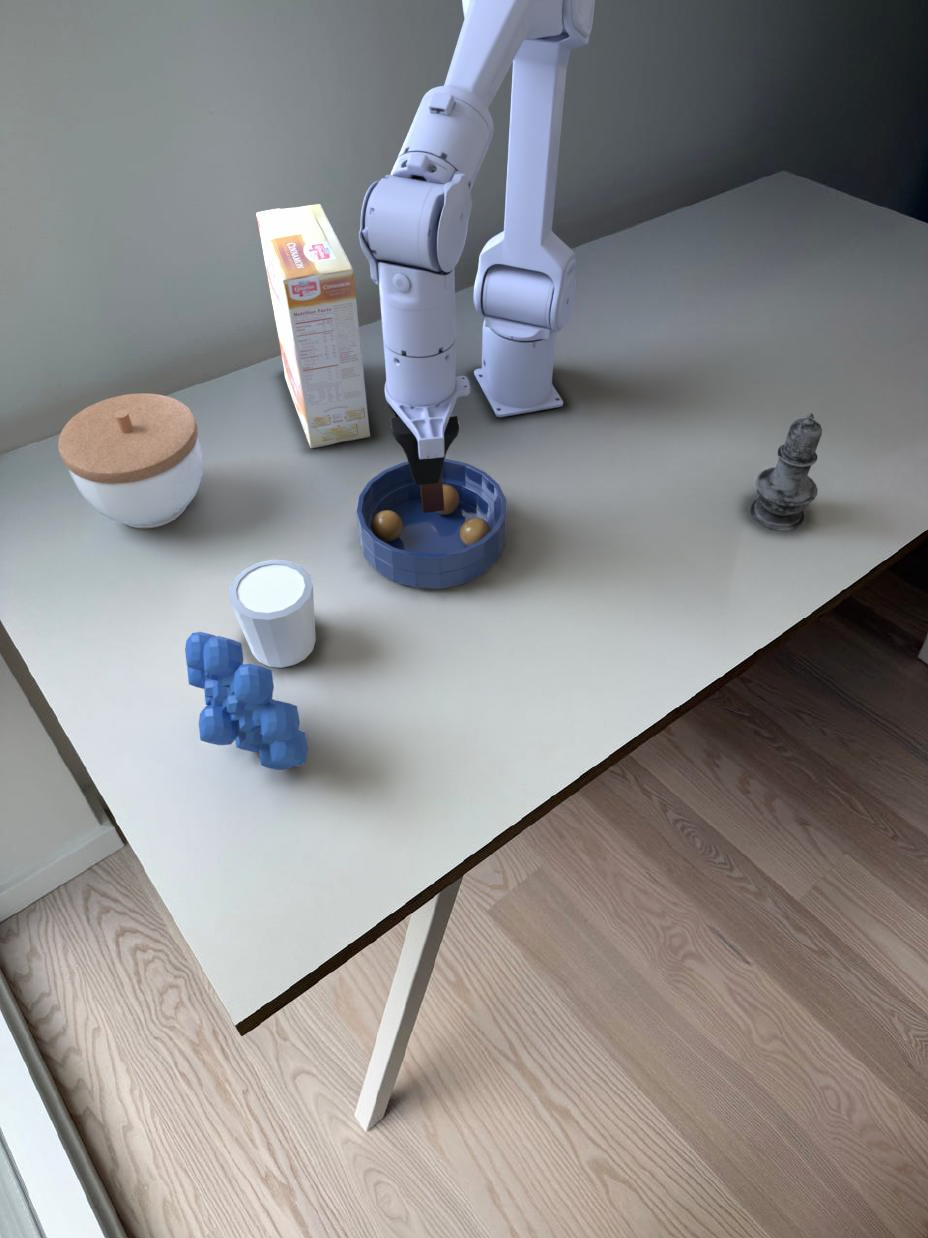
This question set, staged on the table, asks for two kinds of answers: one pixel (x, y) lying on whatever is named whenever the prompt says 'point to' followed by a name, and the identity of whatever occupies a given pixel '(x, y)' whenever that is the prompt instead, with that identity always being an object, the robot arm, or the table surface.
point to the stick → (432, 496)
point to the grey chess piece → (789, 479)
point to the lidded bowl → (135, 458)
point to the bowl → (432, 527)
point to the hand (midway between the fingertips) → (425, 472)
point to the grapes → (242, 703)
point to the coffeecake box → (316, 322)
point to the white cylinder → (275, 611)
